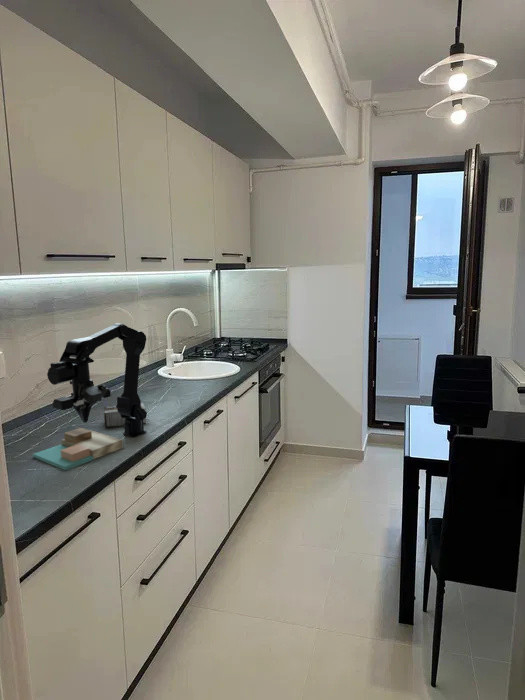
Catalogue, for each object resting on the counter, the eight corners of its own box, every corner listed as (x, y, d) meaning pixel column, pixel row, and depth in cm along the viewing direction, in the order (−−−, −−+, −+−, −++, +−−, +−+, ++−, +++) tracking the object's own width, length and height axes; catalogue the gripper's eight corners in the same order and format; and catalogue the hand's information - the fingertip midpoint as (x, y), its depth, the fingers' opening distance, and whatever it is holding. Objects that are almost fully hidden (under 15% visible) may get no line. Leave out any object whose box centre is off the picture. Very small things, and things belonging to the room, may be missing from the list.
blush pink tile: (78, 451, 160) (78, 444, 160) (90, 455, 157) (89, 448, 156) (61, 457, 155) (60, 450, 155) (72, 461, 152) (71, 454, 151)
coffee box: (144, 416, 201) (104, 421, 196) (143, 402, 200) (103, 406, 194) (146, 423, 192) (104, 428, 187) (145, 408, 191) (103, 412, 186)
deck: (91, 437, 176) (91, 430, 176) (122, 447, 166) (122, 439, 166) (62, 447, 167) (61, 439, 166) (93, 459, 156) (92, 450, 156)
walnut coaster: (81, 434, 172) (80, 427, 171) (91, 437, 168) (91, 431, 168) (64, 439, 166) (64, 432, 166) (75, 443, 163) (74, 436, 162)
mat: (60, 447, 167) (60, 444, 167) (93, 459, 156) (92, 456, 156) (33, 457, 159) (33, 453, 159) (65, 470, 148) (65, 466, 148)
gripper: (69, 387, 145) (74, 435, 148) (119, 374, 160) (122, 418, 163) (49, 382, 151) (54, 428, 154) (98, 371, 166) (102, 413, 169)
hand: (85, 422), depth 160 cm, fingers closed
